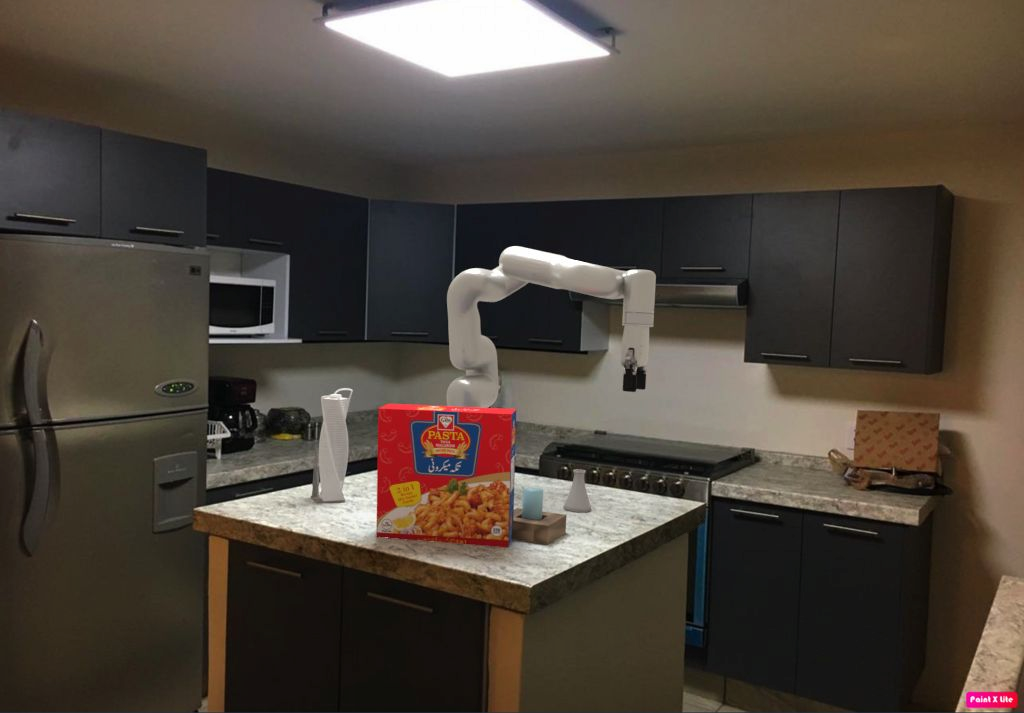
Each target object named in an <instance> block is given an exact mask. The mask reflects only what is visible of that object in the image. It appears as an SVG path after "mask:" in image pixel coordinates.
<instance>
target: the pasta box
mask: <svg viewBox="0 0 1024 713" xmlns="http://www.w3.org/2000/svg"><path fill="white" fill-rule="evenodd" d="M377 412H378V413H377V420H378V421H377V461H376V462H377V466H376V468H377V470H376V471H377V473H376V474H377V475H376V476H377V477H376V479H377V480H376V528H375V530H376V531H375V532H376V536H375V537H376V538H379V537H388V538H387V539H391V538H398V539H397V540H404V539H407V540H406V541H417V540H422V541H421V542H429V541H434V542H433V543H443V544H447V543H448V544H455V545H456V544H457V545H458V544H459V545H466V546H468V545H469V546H481V547H482V546H483V547H491V548H492V547H495V548H507V549H508V548H509V547H510V545H511V543H512V541H513V539H512V531H513V515H514V509H515V508H514V506H515V479H516V478H515V475H516V474H515V472H516V470H515V469H516V441H517V440H516V435H517V432H516V431H517V409H516V408H497V407H488V408H478V407H455V406H447V405H428V404H427V405H425V404H408V403H407V404H406V403H405V404H404V403H403V404H402V403H387V404H384V405H383V406H380V407H378V409H377Z"/></svg>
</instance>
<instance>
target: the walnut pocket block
mask: <svg viewBox="0 0 1024 713" xmlns="http://www.w3.org/2000/svg"><path fill="white" fill-rule="evenodd" d="M566 530H567V514H563V513H556V512H550V511H543V510H542V520H540V521H537V520H530V519H523V518H522V507H521V508H520V507H516V508H514V515H513V531H512V540H516V541H521V542H527V543H535V544H540V545H541V544H542V545H549V544H551V543H552V542H554V541H556V540H557V539H558V538H559V537H561V536H562V535H564V534H565V533H567V532H566Z"/></svg>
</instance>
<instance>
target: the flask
mask: <svg viewBox="0 0 1024 713" xmlns="http://www.w3.org/2000/svg"><path fill="white" fill-rule="evenodd" d="M572 472H573V480H572V486H570V487H571V488H570V490H569V492H568V496H567V498H566V500H565V502H564V504H563V509H564V510H565V511H571V512H578V513H579V512H580V513H582V512H583V513H586V512H590V511H592V506H591V503H590V499H589V496H588V491H587V488H586V481H585V474H586V473H587V471H586V470H585V469H581V468H580V469H578V468H577V469H573V470H572Z"/></svg>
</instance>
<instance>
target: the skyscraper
mask: <svg viewBox="0 0 1024 713" xmlns="http://www.w3.org/2000/svg"><path fill="white" fill-rule="evenodd" d="M341 391H349V392H350V393H349V396H348V397H343V396H342V394H339V392H341ZM353 392H354V390H353V389H352V388H349V387H343V388H338V389H337V390H336V391H334V392H333V394H332V393H331V394H329V395H322V396H321V397H320V401H321V402H320V403H321V404H320V405H321V411H322V420H323V422H322V424H321V430H320V435H319V441H318V443H319V444H318V447H316V449H315V450H316V451H315V455H314V458H315V460H314V465H313V475H312V483H311V484H312V490H311V495H310V498H311V500H313V501H314V503H316V504H333V503H334V504H335V503H346V499H345V495H344V492H343V487H344V483H345V478H346V474H347V473H346V472H347V468H348V460H349V446H350V445H349V433H348V425H347V421H346V419H347V417H348V412H349V411H348V410H349V407H350V403H351V399H352V396H353V395H352V394H353ZM319 485H320V488H319ZM319 489H321V490H319Z"/></svg>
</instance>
